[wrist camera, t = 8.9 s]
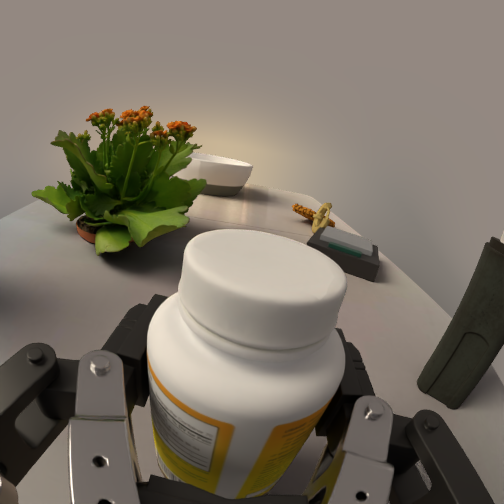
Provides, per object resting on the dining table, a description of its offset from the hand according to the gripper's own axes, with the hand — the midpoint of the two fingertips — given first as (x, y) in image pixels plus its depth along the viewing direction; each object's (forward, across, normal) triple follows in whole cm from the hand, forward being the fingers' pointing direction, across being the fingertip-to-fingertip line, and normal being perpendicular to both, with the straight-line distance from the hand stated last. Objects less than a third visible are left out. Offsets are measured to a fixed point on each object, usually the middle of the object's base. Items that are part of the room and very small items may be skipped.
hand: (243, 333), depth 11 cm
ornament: (+50, -13, +8) cm, 52 cm away
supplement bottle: (-3, 0, +6) cm, 7 cm away
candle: (+6, -19, +8) cm, 21 cm away
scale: (+34, -15, +8) cm, 38 cm away
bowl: (+68, +14, +8) cm, 70 cm away
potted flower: (+26, +20, +8) cm, 33 cm away
